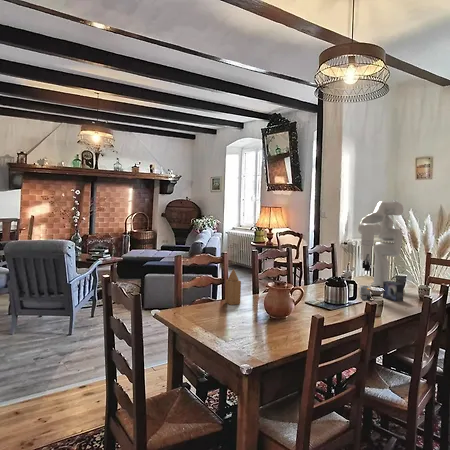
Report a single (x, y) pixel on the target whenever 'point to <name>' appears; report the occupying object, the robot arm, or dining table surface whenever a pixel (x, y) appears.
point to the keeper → (366, 296)
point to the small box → (393, 291)
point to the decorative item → (232, 289)
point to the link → (363, 289)
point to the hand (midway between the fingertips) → (365, 269)
